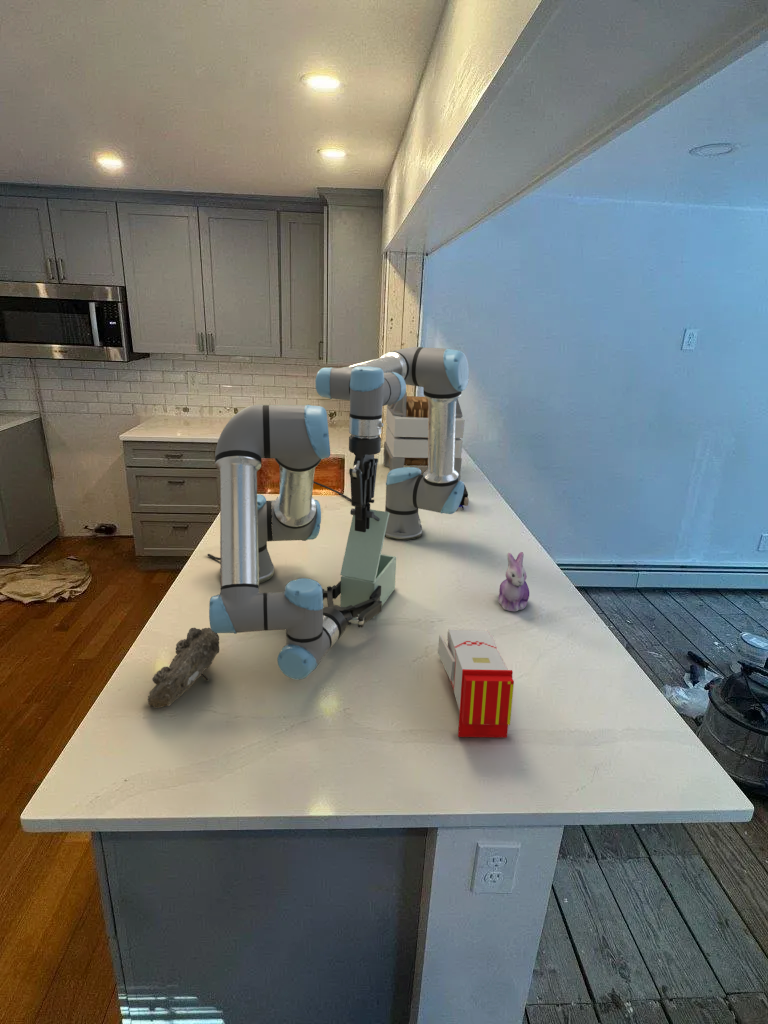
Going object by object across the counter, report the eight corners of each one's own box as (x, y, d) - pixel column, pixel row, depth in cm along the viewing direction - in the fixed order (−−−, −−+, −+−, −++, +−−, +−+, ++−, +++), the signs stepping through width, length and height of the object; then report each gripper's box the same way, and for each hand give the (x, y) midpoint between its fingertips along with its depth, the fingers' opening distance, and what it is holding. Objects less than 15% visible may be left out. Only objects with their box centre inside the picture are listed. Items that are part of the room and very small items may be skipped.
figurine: (511, 616, 149) (518, 564, 143) (487, 598, 157) (493, 549, 152) (539, 609, 153) (547, 558, 148) (514, 592, 161) (521, 544, 156)
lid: (356, 507, 147) (345, 500, 140) (389, 512, 144) (380, 506, 137) (341, 575, 144) (330, 571, 137) (375, 581, 142) (365, 578, 134)
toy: (488, 613, 130) (523, 677, 101) (484, 667, 133) (517, 744, 104) (435, 612, 130) (455, 676, 101) (432, 666, 133) (451, 743, 103)
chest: (364, 582, 163) (365, 550, 159) (394, 588, 160) (396, 556, 157) (340, 611, 148) (340, 577, 144) (373, 618, 145) (374, 583, 141)
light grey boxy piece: (382, 463, 289) (386, 382, 275) (445, 464, 293) (451, 384, 279) (390, 482, 257) (394, 392, 243) (460, 483, 261) (468, 394, 247)
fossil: (174, 630, 128) (220, 599, 123) (204, 658, 131) (250, 629, 126) (125, 701, 108) (178, 668, 103) (161, 733, 111) (215, 702, 106)
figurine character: (468, 514, 225) (463, 498, 239) (470, 497, 222) (465, 482, 235) (451, 514, 225) (447, 498, 238) (453, 497, 222) (449, 481, 235)
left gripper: (281, 633, 131) (323, 591, 151) (369, 654, 125) (401, 608, 145) (280, 604, 129) (323, 566, 149) (371, 624, 122) (402, 581, 142)
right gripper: (369, 443, 124) (365, 542, 132) (390, 431, 137) (386, 522, 145) (337, 439, 127) (336, 537, 135) (361, 428, 140) (359, 517, 148)
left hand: (361, 586), depth 147 cm, fingers closed on chest, 9 cm apart
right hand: (362, 529), depth 140 cm, fingers closed on lid, 2 cm apart
